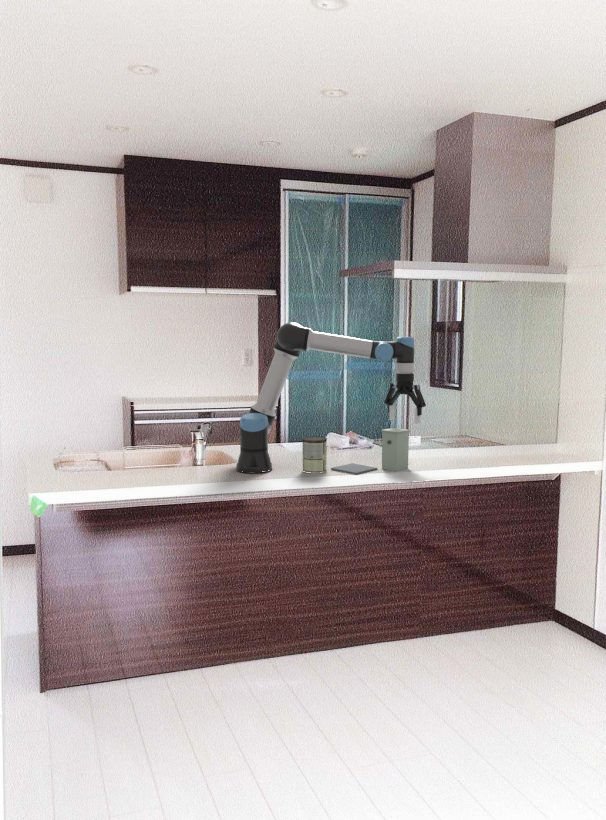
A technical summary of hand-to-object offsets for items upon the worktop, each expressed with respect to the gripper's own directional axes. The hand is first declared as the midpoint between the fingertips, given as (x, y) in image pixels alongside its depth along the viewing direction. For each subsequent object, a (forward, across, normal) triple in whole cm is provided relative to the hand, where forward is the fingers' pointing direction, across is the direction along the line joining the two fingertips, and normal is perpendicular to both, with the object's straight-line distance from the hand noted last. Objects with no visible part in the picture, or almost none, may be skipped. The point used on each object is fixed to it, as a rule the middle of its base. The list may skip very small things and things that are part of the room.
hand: (404, 421), depth 319 cm
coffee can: (+19, +20, +36) cm, 45 cm away
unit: (+19, -1, +8) cm, 21 cm away
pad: (+19, +10, +22) cm, 31 cm away
